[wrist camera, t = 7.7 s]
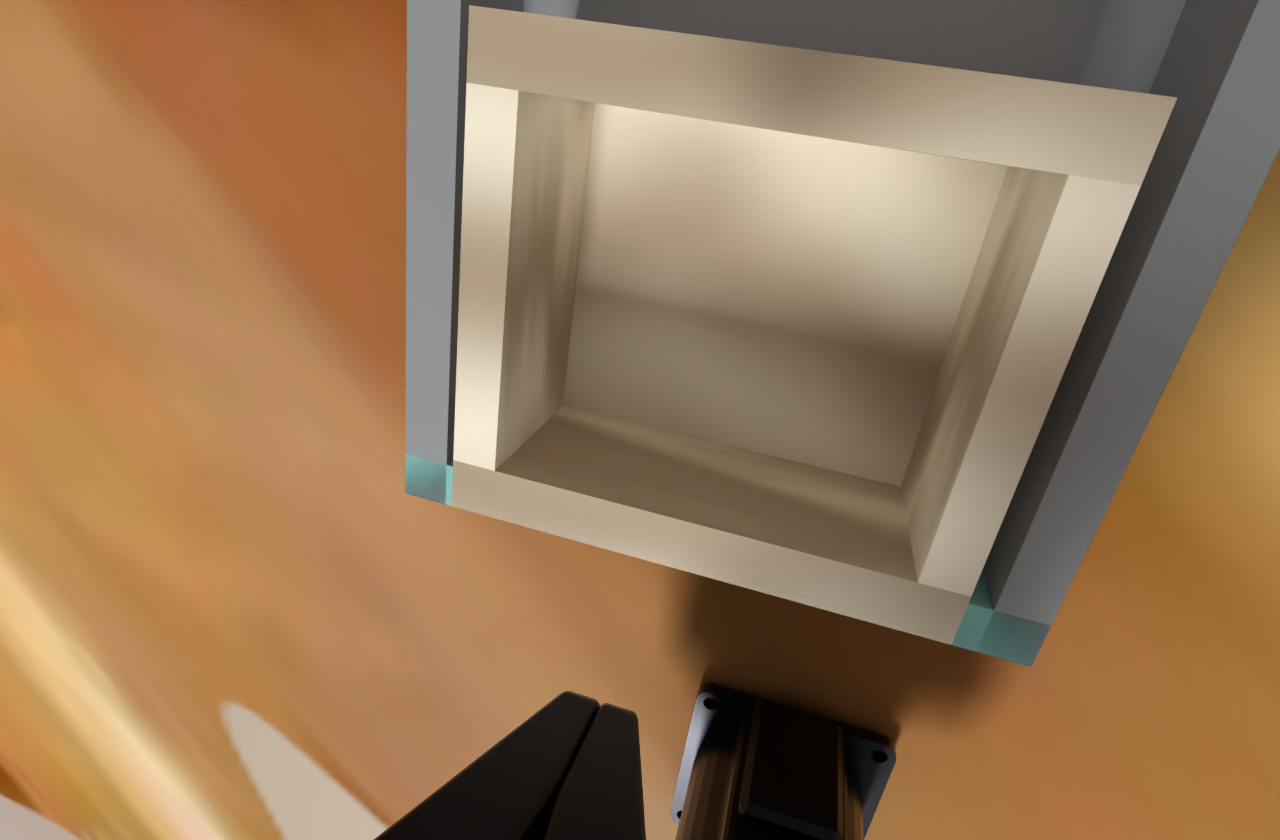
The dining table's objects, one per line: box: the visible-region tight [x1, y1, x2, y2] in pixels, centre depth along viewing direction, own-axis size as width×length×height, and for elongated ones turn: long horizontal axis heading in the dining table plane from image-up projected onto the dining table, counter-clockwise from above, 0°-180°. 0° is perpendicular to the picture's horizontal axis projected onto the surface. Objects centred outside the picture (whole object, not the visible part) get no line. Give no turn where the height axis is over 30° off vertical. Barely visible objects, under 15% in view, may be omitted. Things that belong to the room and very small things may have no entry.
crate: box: [452, 5, 1177, 645], centre depth 15 cm, size 10×11×5 cm
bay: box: [405, 0, 1280, 667], centre depth 15 cm, size 20×16×4 cm
